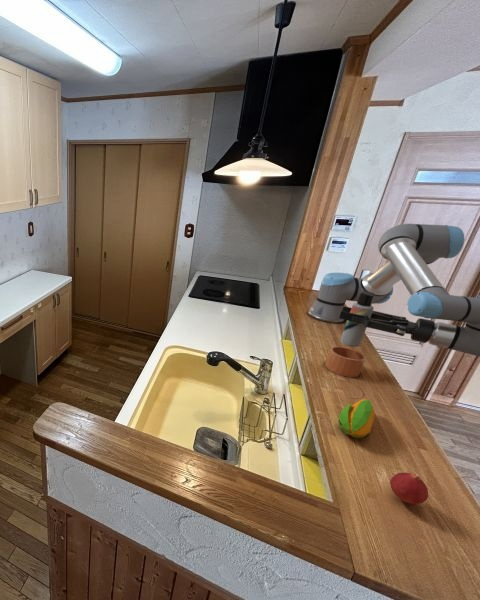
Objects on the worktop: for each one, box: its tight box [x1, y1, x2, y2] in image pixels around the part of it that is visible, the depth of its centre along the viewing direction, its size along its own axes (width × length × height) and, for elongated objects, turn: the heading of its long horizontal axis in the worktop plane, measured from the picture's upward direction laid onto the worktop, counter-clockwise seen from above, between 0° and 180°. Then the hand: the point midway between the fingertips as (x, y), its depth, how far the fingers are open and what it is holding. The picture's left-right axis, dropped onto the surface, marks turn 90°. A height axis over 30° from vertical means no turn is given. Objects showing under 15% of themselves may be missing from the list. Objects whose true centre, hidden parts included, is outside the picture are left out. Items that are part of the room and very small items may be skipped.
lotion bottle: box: [340, 291, 375, 348], centre depth 115 cm, size 6×6×20 cm
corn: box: [338, 398, 376, 439], centre depth 93 cm, size 7×8×20 cm
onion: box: [389, 472, 429, 505], centre depth 70 cm, size 6×6×8 cm
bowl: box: [324, 345, 366, 378], centre depth 120 cm, size 10×10×7 cm
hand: (341, 312), depth 118 cm, fingers closed on lotion bottle, 6 cm apart
